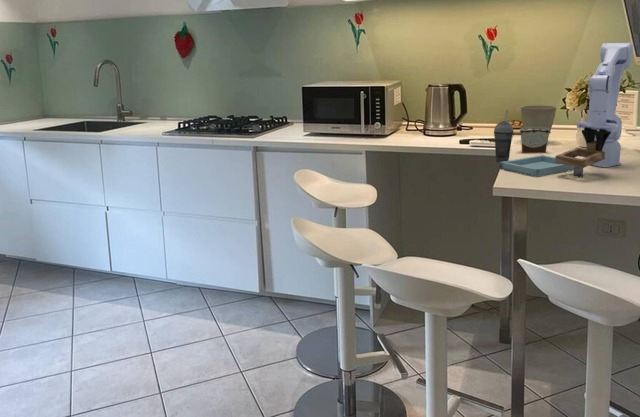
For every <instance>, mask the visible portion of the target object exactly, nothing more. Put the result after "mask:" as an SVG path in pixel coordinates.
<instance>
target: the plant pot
mask: <svg viewBox="0 0 640 417" xmlns="http://www.w3.org/2000/svg"><path fill="white" fill-rule="evenodd" d="M557 108H558V107H557V106H555V105H546V104H545V105H544V104H543V105H541V104H540V105H537V104H535V105H522V106H520V113H521V120H522V128H523V127H546V128H550V132H551V130H552V127H553V124H554V121H555V116H556V112H557Z"/></svg>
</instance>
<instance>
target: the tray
mask: <svg viewBox="0 0 640 417" xmlns="http://www.w3.org/2000/svg"><path fill="white" fill-rule="evenodd" d="M502 169H504V170H503V171H508V172H511V171H512V172H511V173H516V172H517V173H516V174H520V173H521V174H520V175H525V174H526V176H531V177H534V176H535V178H536V177H542V176H549V175H553V174H559V173H564V172H569V171H574V166H569V165H564V164H558V163H556V160H555V157H554V156H549V155H544V154H540V155H535V156H529V157H523V158H516V159H511V160H510V159H509V160H508V161H504V162H500V163H499V170H502Z"/></svg>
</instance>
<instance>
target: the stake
mask: <svg viewBox="0 0 640 417" xmlns="http://www.w3.org/2000/svg"><path fill="white" fill-rule="evenodd" d="M572 176H573V177H575V176H578V177H577V178H581V177H580V176H584V168H579V167H574V170H573V174H572Z"/></svg>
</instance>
